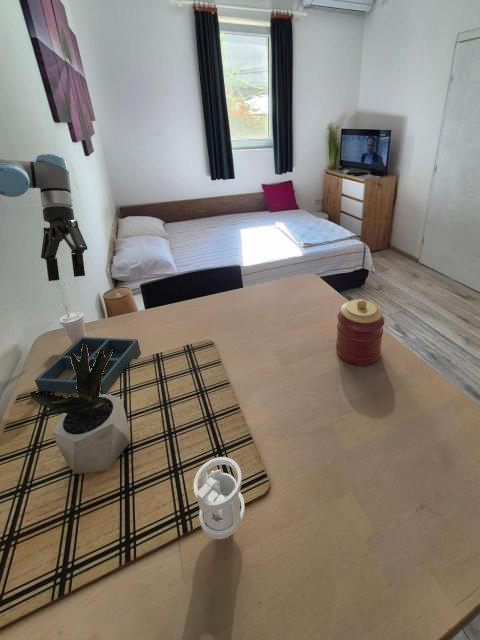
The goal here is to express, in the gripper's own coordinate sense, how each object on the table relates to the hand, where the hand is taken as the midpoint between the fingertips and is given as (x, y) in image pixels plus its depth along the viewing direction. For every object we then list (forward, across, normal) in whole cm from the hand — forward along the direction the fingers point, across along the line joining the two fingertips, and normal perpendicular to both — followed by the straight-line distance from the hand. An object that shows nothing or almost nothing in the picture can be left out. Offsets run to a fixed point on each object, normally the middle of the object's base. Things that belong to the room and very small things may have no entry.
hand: (66, 278), depth 96 cm
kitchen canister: (+33, -73, -39) cm, 89 cm away
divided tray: (+27, -11, +2) cm, 29 cm away
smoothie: (+20, +4, -4) cm, 21 cm away
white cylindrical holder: (+48, -63, +13) cm, 80 cm away
